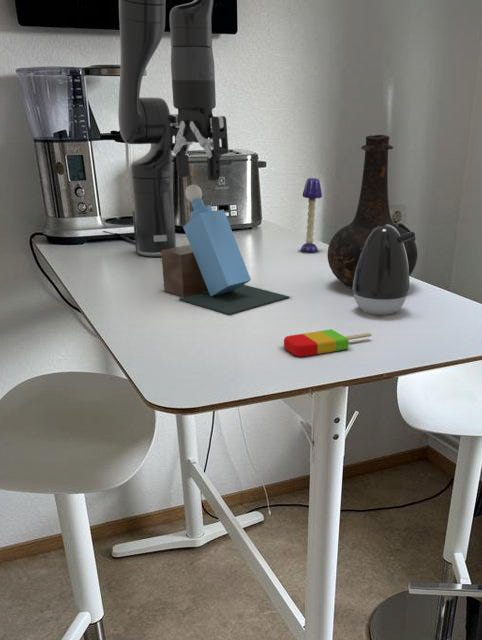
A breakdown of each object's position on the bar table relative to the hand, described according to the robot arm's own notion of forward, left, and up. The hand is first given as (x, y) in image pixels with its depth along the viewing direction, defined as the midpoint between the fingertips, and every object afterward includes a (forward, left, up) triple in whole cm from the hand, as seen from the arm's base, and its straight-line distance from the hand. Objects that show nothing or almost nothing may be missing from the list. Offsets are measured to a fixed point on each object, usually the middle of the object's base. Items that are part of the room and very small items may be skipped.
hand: (198, 178), depth 130 cm
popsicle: (+40, -8, -21) cm, 46 cm away
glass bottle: (+22, +26, -21) cm, 40 cm away
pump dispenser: (+34, +13, -21) cm, 42 cm away
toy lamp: (-9, +43, -21) cm, 49 cm away
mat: (+9, 0, -21) cm, 23 cm away
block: (-2, 0, -21) cm, 21 cm away
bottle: (+4, 0, -21) cm, 21 cm away
